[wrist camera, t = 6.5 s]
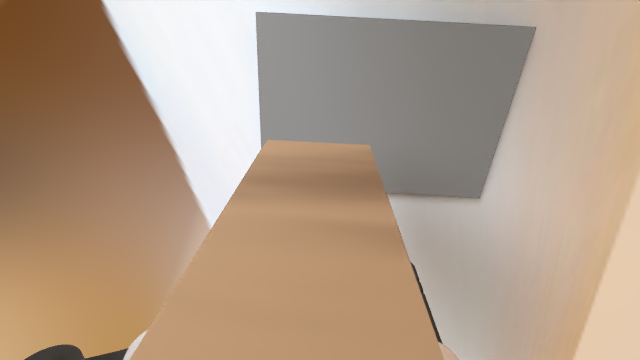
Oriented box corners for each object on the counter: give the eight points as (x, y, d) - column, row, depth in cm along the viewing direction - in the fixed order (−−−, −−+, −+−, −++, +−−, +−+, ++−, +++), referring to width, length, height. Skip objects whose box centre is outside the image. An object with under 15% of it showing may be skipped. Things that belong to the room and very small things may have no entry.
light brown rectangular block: (262, 139, 10) (-17, 556, 2) (369, 144, 10) (525, 594, 2) (269, 289, 13) (170, 693, 5) (351, 294, 13) (382, 710, 5)
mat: (258, 12, 22) (255, 11, 21) (528, 27, 22) (536, 27, 21) (265, 180, 28) (262, 185, 27) (474, 193, 28) (479, 198, 27)
